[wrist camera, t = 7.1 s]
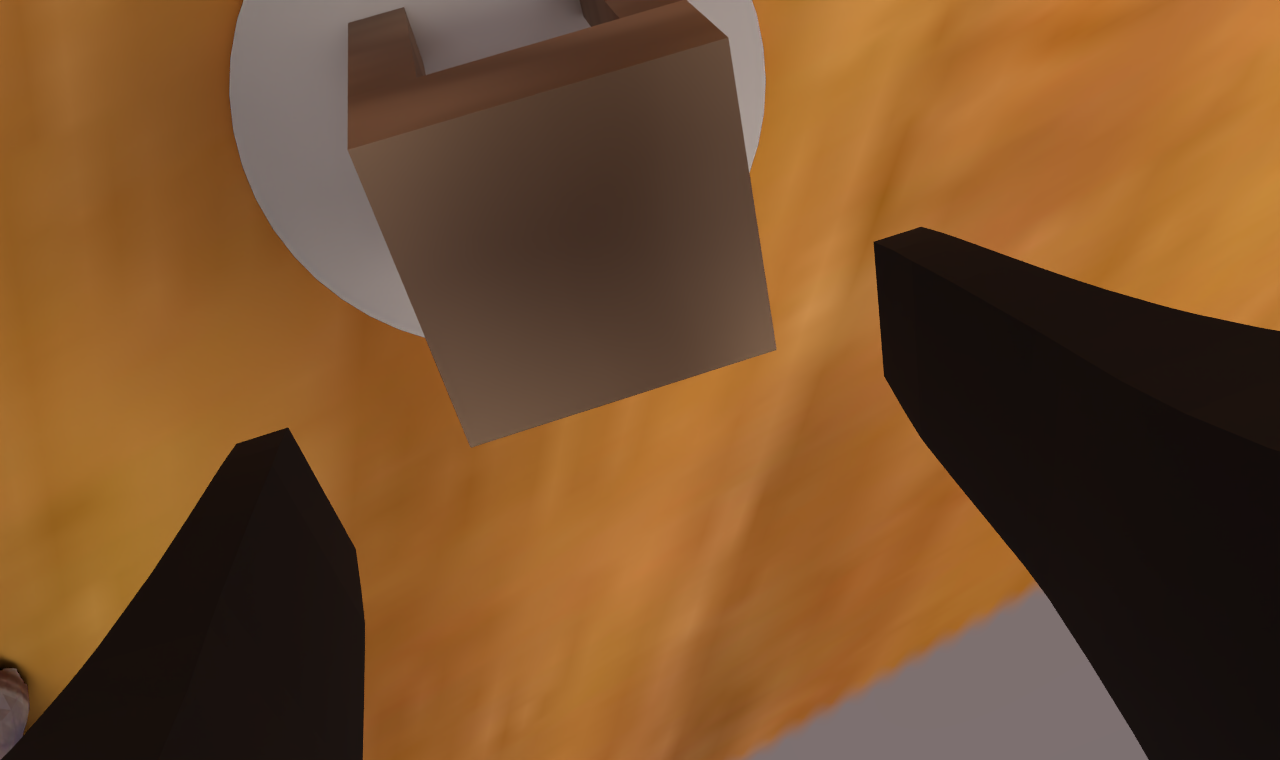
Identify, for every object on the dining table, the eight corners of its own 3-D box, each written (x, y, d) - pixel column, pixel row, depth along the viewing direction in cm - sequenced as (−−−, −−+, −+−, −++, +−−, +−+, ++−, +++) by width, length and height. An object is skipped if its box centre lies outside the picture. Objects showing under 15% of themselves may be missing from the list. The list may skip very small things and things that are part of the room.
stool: (441, 268, 20) (470, 447, 15) (348, 23, 17) (346, 149, 12) (675, 196, 20) (776, 350, 16) (624, -57, 17) (728, 37, 13)
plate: (356, 389, 22) (356, 404, 21) (123, -93, 16) (116, -87, 15) (783, 255, 23) (792, 267, 22) (712, -254, 17) (723, -253, 16)
